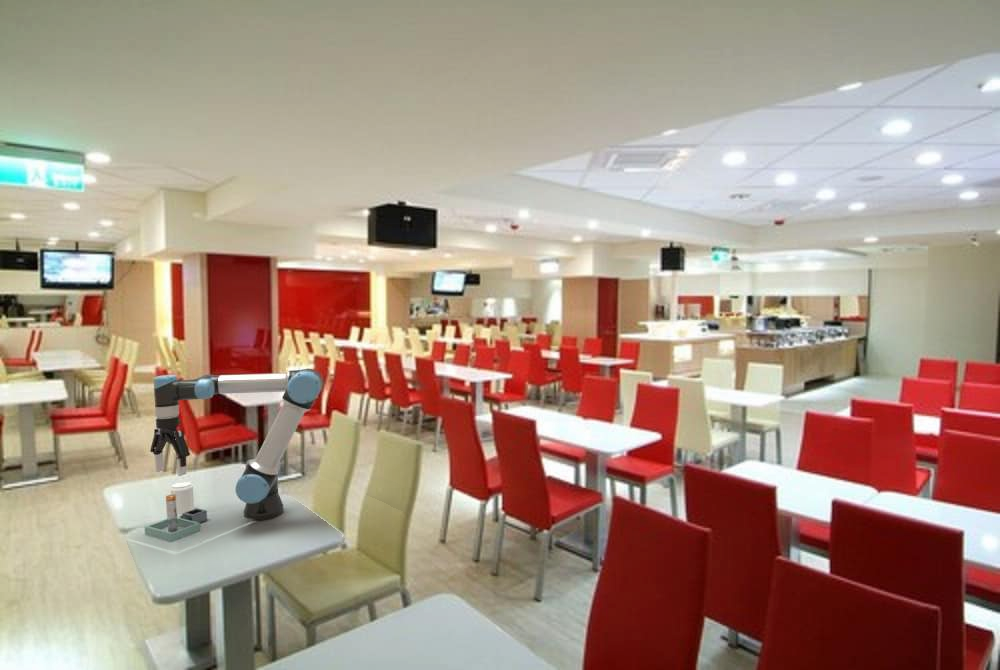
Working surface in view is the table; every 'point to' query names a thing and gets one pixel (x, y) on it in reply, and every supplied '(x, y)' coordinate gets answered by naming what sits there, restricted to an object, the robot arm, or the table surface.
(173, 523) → the grey orange cylinder
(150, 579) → the table surface
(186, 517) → the dark grey open box
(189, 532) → the tray
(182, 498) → the white upright cylinder
